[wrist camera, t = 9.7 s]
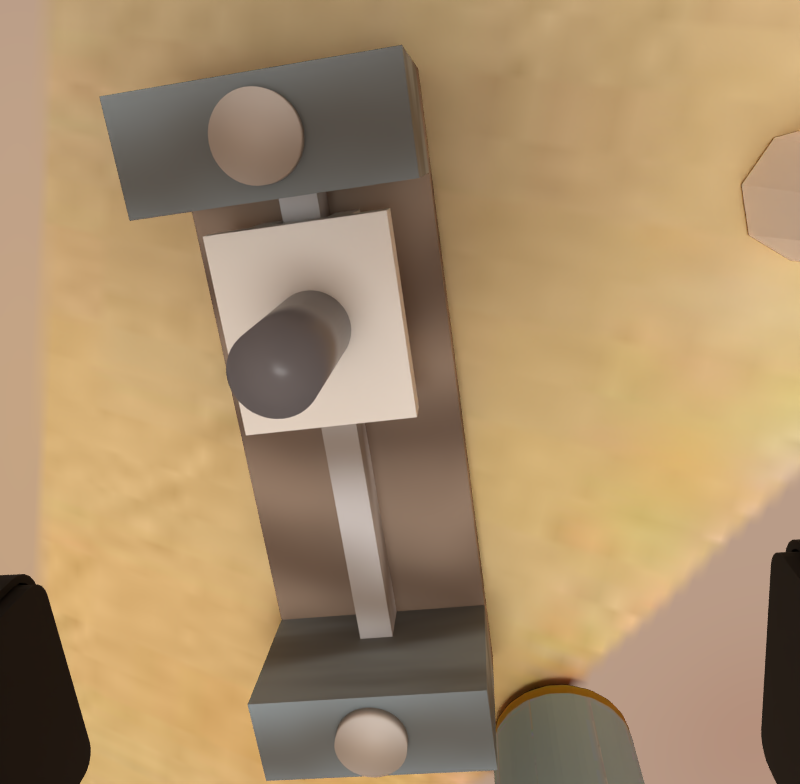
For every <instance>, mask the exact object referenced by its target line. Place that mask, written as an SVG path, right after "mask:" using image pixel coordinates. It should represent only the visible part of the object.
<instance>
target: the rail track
mask: <svg viewBox="0 0 800 784" xmlns="http://www.w3.org/2000/svg"><path fill="white" fill-rule="evenodd" d="M100 101H101V105H102V109H103V113H104V118H105V122H106V126H107V130H108V134H109V138H110V142H111V146H112V150H113V154H114V159H115V163H116V167H117V171H118V175H119V179H120V183H121V187H122V191H123V195H124V200H125V204H126V208H127V212H128V216H129V220H130V221H131V220H138V219H145V218H152V217H158V216H165V215H172V214H179V213H186V212H192V213H193V218H194V222H195V227H196V232H197V236H198V241H199V245H200V250H201V254H202V259H203V263H204V268H205V273H206V277H207V282H208V286H209V291H210V295H211V300H212V304H213V309H214V314H215V318H216V323H217V327H218V332H219V336H220V341H221V345H222V350H223V355H224V359H225V364H227V358H228V351H227V346H226V342H225V337H224V332H223V328H222V323H221V319H220V314H219V309H218V305H217V300H216V296H215V291H214V286H213V282H212V277H211V273H210V268H209V263H208V259H207V254H206V250H205V245H204V240H203V236H206V235H209V234H212V233H219V232H226V231H233V230H240V229H247V228H251V227H253V226H256V225H259V224H262V223H268V222H275V221H282V220H283V223H289V222H295V221H302V220H309V219H316V218H323V217H328V216H330V215H332V214H334V213H338V212H345V211H352V210H359V209H360V212H365V211H372V210H379V209H386V208H390V211H391V218H392V225H393V232H394V238H395V245H396V252H397V259H398V266H399V273H400V280H401V287H402V294H403V301H404V308H405V315H406V322H407V329H408V335H409V342H410V349H411V356H412V363H413V370H414V377H415V384H416V391H417V398H418V405H419V409H418V414H417V417H414V418H405V419H396V420H386V421H377V422H367V423H358V424H349V425H339V426H330V427H321V428H311V429H302V430H292V431H283V432H274V433H264V434H255V435H246V433H245V429H244V424H243V420H242V415H241V410H240V406H239V401H238V400H237V398H236V397H235V396H234V394H233V392H232V396H233V400H234V405H235V409H236V414H237V418H238V423H239V427H240V432H241V437H242V441H243V446H244V450H245V455H246V459H247V464H248V468H249V473H250V477H251V482H252V487H253V491H254V496H255V500H256V505H257V509H258V514H259V518H260V523H261V528H262V532H263V537H264V541H265V546H266V550H267V555H268V559H269V564H270V569H271V573H272V578H273V582H274V587H275V591H276V596H277V600H278V605H279V610H280V614H281V619H282V620H281V623H280V625H279V628H278V630H277V633H276V635H275V638H274V640H273V643H272V645H271V648H270V650H269V653H268V655H267V658H266V660H265V663H264V665H263V668H262V670H261V673H260V675H259V678H258V680H257V683H256V685H255V688H254V690H253V693H252V695H251V698H250V700H249V703H248V708H249V712H250V716H251V720H252V724H253V728H254V732H255V736H256V740H257V745H258V749H259V753H260V757H261V761H262V765H263V769H264V773H265V777H266V781H271V780H293V779H315V778H337V777H359V776H366V777H382V776H386V775H403V774H424V773H446V772H468V771H490V770H497V748H496V724H495V700H494V677H493V655H492V647H491V639H490V631H489V623H488V616H487V608H486V600H485V592H484V584H483V576H482V568H481V561H480V553H479V545H478V537H477V529H476V521H475V513H474V506H473V498H472V490H471V482H470V474H469V466H468V458H467V450H466V443H465V435H464V427H463V419H462V411H461V403H460V395H459V388H458V380H457V372H456V364H455V356H454V348H453V340H452V332H451V325H450V317H449V309H448V301H447V293H446V285H445V277H444V270H443V262H442V254H441V246H440V238H439V230H438V222H437V215H436V207H435V199H434V191H433V183H432V175H431V167H430V159H429V152H428V144H427V136H426V128H425V120H424V112H423V104H422V97H421V89H420V81H419V73H418V68H417V67H416V65H415V64H414V62H413V61H412V59H411V58H410V56H409V55H408V53H407V52H406V50H405V49H404V47H403V46H402V45H399V46H393V47H387V48H381V49H375V50H369V51H364V52H358V53H352V54H346V55H340V56H334V57H328V58H323V59H317V60H311V61H305V62H299V63H293V64H287V65H282V66H276V67H270V68H264V69H258V70H252V71H246V72H241V73H235V74H229V75H223V76H217V77H211V78H205V79H200V80H194V81H188V82H182V83H176V84H170V85H164V86H158V87H153V88H147V89H141V90H135V91H129V92H123V93H117V94H112V95H106V96H100ZM231 391H232V390H231Z"/></svg>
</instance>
